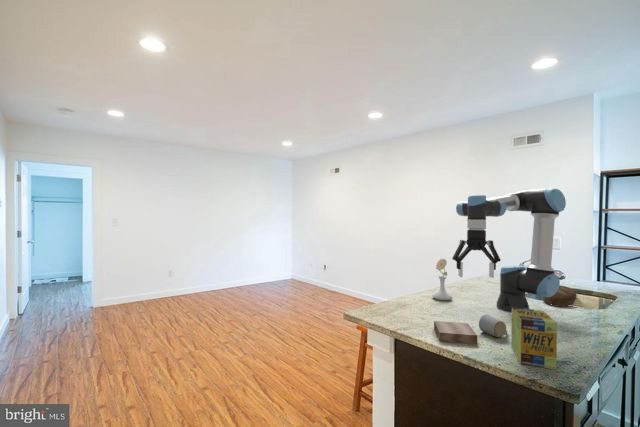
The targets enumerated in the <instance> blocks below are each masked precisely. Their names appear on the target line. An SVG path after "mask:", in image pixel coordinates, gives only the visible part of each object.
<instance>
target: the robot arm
mask: <svg viewBox="0 0 640 427" xmlns="http://www.w3.org/2000/svg"><path fill="white" fill-rule="evenodd" d="M566 202H567V200H566V197H565V194H563V192H562V191H561V190H560V189H558V188H548V187H547V188H539V189H537V188H536V189H526V190H525V189H524V190H521V191H516V192H511V193H507V194H506V195H505V194H504V196H496V197H490V198H487V196H486V195H484V194H471V195H468V197H467V201H466V200H463V201H459V202H458V203H457V204H456V207H455V209H456V210H455V211H456V213H457V215H458V216H461V217H467V220H466V221H467V226H466V228H467V232H466V238H467V239H466V240H463V239H460V240H459V244H458V246H457V248H456V249H455V252H454V254H453V256H452V258H451V259H452V260H453V261H455V263H456V269H457V270H458V271H457V272H458V277H460V278H463V277H464V276H463V271H464V270H463V269H464V266H463V263H464V262H462V261H463V260H464V259H465V258H466V256H468V254H469V253H470V252H471V251H482V252H483V253H484V255H485V256H486V257H487V258H488V259H489V264H488V267H489V268H488V277H489V278H491V279H492V278H493V279H494V278H495V271H496V269H497V265H496V264H497V263H498V262H501V258H500V256H499V253H498V252H497V249H496V248H495V245H494V241H493V240H487V231H486V229H487V217H491V218H492V217H493V218H494V217H495V218H497V217H502V216H504V214H505V213H506V212H507V211H508V212H530V215H531V216H532V217H533V229H532V238H531V241H532V242H531V252H530V262H529V265H527V266H523V265H505V266H502V267H501V268H500V271H499V272H500V274H499V275H500V276H499V277H500V279H499V280H500V282H499V284H500V285H499V286H500V290H499V291H500V293H499V295H498V298H497V301H496V308H498V309H500V310H502V311H506V312H510V313H512V307H515V308H524V309H530V305H529V302H528V300H527V297H526V293H527V294H530V295H535V296H538V297H542V296H543V297H551V296H553V295H554V294H555V293H556V292H557V291H558V288H559V286H561V285H560V282H561V280H560V277H559V276H558V275H557V274H555V271H556V270H555V269H554V268H553V267H552V258H553V247H554V234H555V223H556V222H555V220H556V219H557V218H558V217H559V215H560V213H562V212H563V211H565V208H566V205H567V203H566ZM466 245H467V246H466ZM486 245H487V246H488V248H489V250H488V248H486ZM465 246H466V247H465ZM464 248H465V249H464ZM463 249H464V250H463ZM490 252H491V253H490Z"/></svg>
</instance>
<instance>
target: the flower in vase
mask: <svg viewBox="0 0 640 427" xmlns="http://www.w3.org/2000/svg"><path fill="white" fill-rule="evenodd" d="M446 266H447V260H446V258H440V259H439V260H438V261H437V262H436V265H435V269H436V270H437V271H439V272H440V273H441V274H442V275H437V277H438V278H439V282H440V284H439V285H440V287H439V289H438V290H436V291H435V292H433V293H432V298H434V299H436V300H439V301H440V300H441V301H450V300H452V299H453V295H452V294H451V293H450V292H449V291H448V290H447V289H446V286H445V281H446V279H447V277H448V272H447V271H446V269H445V267H446ZM443 271H444V272H443Z"/></svg>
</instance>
